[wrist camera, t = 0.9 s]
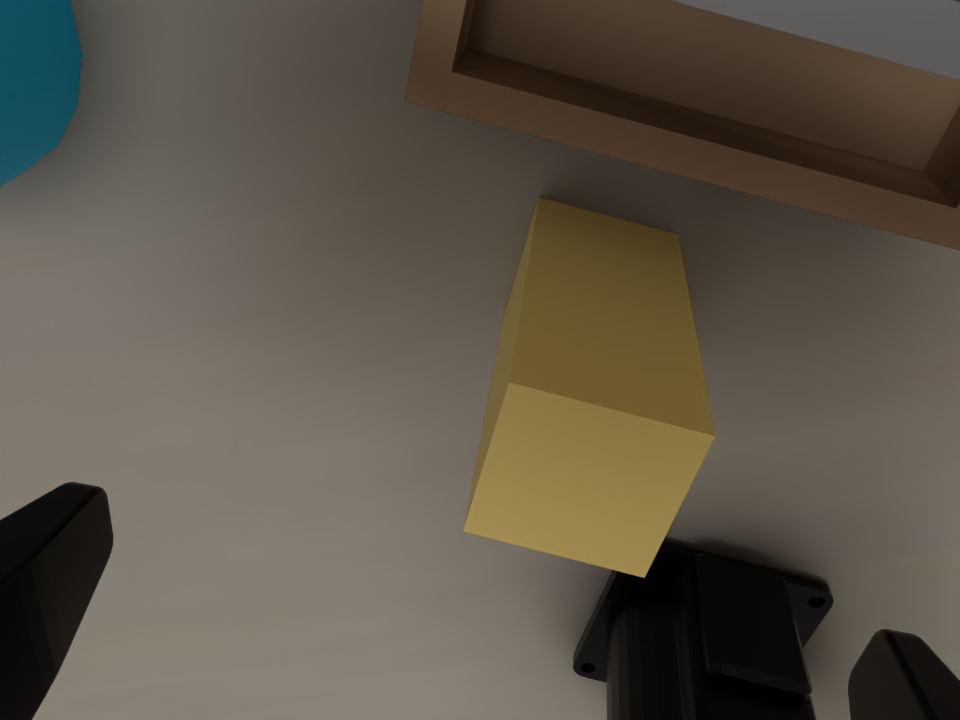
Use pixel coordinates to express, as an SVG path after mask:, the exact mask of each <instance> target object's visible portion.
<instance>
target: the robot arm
mask: <svg viewBox="0 0 960 720" xmlns="http://www.w3.org/2000/svg"><path fill="white" fill-rule="evenodd" d="M112 547H113V530H112V524H111V517H110V511H109V504H108V498H107V494H106V492H105V491H104V489H103V488H100V487H98V486H93V485H87V484H82V483H76V482H68V483H65V484H63V485H61V486H59V487H57V488H55V489H53V490H52V491H50V492H48V493H47V494H45V495H43V496H41V497H40V498H38V499H36V500H34V501H33V502H31V503H29V504H27V505H26V506H24V507H22V508H20V509H19V510H17V511H15V512H13V513H12V514H10V515H8V516H6V517H5V518H3V519H1V520H0V720H32V719H33V717H34V715H35V713H36V712H37V710H38V708H39V707H40V705H41V703H42V701H43V700H44V698H45V696H46V694H47V693H48V691H49V689H50V687H51V685H52V683H53V682H54V680H55V678H56V676H57V674H58V672H59V670H60V668H61V666H62V663H63V661H64V659H65V657H66V655H67V653H68V650H69V648H70V646H71V644H72V641H73V639H74V637H75V634H76V632H77V630H78V628H79V625H80V623H81V621H82V619H83V616H84V614H85V612H86V610H87V607H88V605H89V603H90V600H91V598H92V596H93V594H94V591H95V589H96V587H97V585H98V582H99V580H100V578H101V575H102V573H103V571H104V569H105V566H106V564H107V562H108V560H109V557H110V554H111V551H112ZM815 596H817V597H816V598H812V597H815ZM832 605H833V597H832V594H831V591H830V587H829V586H828V585H827V584H825V583H823V582H821V581H817V580H813V579H809V578H805V577H801V576H797V575H794V574H790V573H786V572H782V571H778V570H774V569H770V568H766V567H762V566H758V565H755V564H751V563H747V562H743V561H739V560H735V559H731V558H727V557H723V556H720V555H716V554H712V553H708V552H704V551H700V550H696V549H692V548H688V547H685V546H681V545H677V544H673V543H669V542H665V541H663V542H662V544H661V546H660V548H659V550H658V552H657V554H656V556H655V558H654V560H653V562H652V564H651V566H650V568H649V570H648V572H647V574H646V576H645V578H643V577H639V576H635V575H631V574H627V573H623V572H619V571H616V570H613V572H612V574H611V576H610V579H609V581H608V583H607V585H606V587H605V589H604V591H603V594H602V596H601V598H600V600H599V602H598V604H597V606H596V609H595V611H594V613H593V615H592V617H591V619H590V621H589V624H588V626H587V628H586V630H585V632H584V634H583V636H582V638H581V641H580V643H579V645H578V647H577V649H576V651H575V653H574V658H573V669H574V671H575V672H576V673H577V674H578V675H580V676H583V677H587V678H590V679H594V680H598V681H602V682H606V683H607V720H816V716H815V712H814V708H813V704H812V700H811V696H810V693H811V692H812V686H811V682H810V678H809V674H808V669H807V665H806V661H805V657H804V653H803V649H802V648H803V647H804V645H805V644H806V642H807V641H808V640H809V638H810V637H811V635H812V634H813V632H814V631H815V630H816V628H817V627H818V625H819V624H820V623H821V621H822V620H823V618H824V617H825V615H826V614H827V613H828V611H829V610H830V608H831V607H832ZM848 695H849V705H850V715H851V720H960V680H959V679H958V678H957V677H956V676H955V675H954V674H953V672H952V671H951V670H950V669H949V668H948V667H947V666H946V665H945V664H944V663H943V662H942V660H941V659H940V658H939V657H938V656H937V655H936V654H935V653H934V652H933V651H932V650H931V648H930V647H929V646H928V645H927V644H926V643H925V642H924V641H923V640H922V639H921V638H919V637H918V636H916V635H914V634H910V633H905V632H899V631H893V630H888V629H881V630H879V631H878V632H876V633H875V634H874V635H873V637H872V638H871V640H870V642H869V643H868V645H867V647H866V648H865V650H864V652H863V653H862V655H861V656H860V658H859V660H858V661H857V663H856V665H855V666H854V668H853V670H852V672H851V674H850V678H849V683H848Z"/></svg>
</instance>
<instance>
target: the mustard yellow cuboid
mask: <svg viewBox="0 0 960 720" xmlns="http://www.w3.org/2000/svg"><path fill="white" fill-rule="evenodd" d="M714 438H715V431H714V426H713V420H712V415H711V409H710V404H709V399H708V393H707V388H706V382H705V377H704V372H703V366H702V361H701V356H700V350H699V345H698V339H697V334H696V329H695V323H694V318H693V313H692V307H691V302H690V296H689V291H688V286H687V280H686V275H685V269H684V264H683V259H682V253H681V248H680V243H679V237H678V234H675V233H671V232H668V231H664V230H660V229H657V228H653V227H649V226H645V225H642V224H638V223H634V222H630V221H627V220H623V219H619V218H615V217H612V216H608V215H604V214H601V213H597V212H593V211H589V210H586V209H582V208H578V207H574V206H571V205H567V204H563V203H559V202H556V201H552V200H548V199H544V198H541V197H539V198H538V201H537V204H536V208H535V211H534V215H533V218H532V222H531V225H530V229H529V232H528V236H527V239H526V242H525V246H524V249H523V253H522V256H521V260H520V263H519V267H518V270H517V273H516V277H515V280H514V284H513V287H512V291H511V294H510V298H509V301H508V305H507V308H506V311H505V315H504V319H503V324H502V329H501V334H500V340H499V345H498V350H497V355H496V361H495V366H494V371H493V376H492V382H491V387H490V392H489V397H488V403H487V408H486V413H485V418H484V424H483V429H482V434H481V439H480V445H479V450H478V455H477V460H476V466H475V471H474V476H473V481H472V486H471V492H470V497H469V502H468V507H467V513H466V518H465V523H464V528H463V532H467V533H471V534H475V535H479V536H483V537H487V538H491V539H495V540H498V541H502V542H506V543H510V544H514V545H518V546H522V547H526V548H530V549H534V550H537V551H541V552H545V553H549V554H553V555H557V556H561V557H565V558H569V559H573V560H577V561H580V562H584V563H588V564H592V565H596V566H600V567H604V568H608V569H612V570H616V571H619V572H623V573H627V574H631V575H635V576H639V577H643V578H645V576H646V574H647V572H648V570H649V568H650V566H651V564H652V562H653V560H654V558H655V556H656V554H657V552H658V550H659V548H660V546H661V544H662V542H663V540H664V538H665V536H666V534H667V532H668V530H669V528H670V526H671V524H672V522H673V520H674V518H675V516H676V514H677V512H678V510H679V508H680V506H681V504H682V502H683V500H684V498H685V496H686V494H687V492H688V490H689V488H690V486H691V484H692V482H693V480H694V478H695V476H696V474H697V472H698V470H699V468H700V466H701V464H702V462H703V460H704V458H705V456H706V454H707V452H708V450H709V448H710V446H711V444H712V442H713V440H714Z"/></svg>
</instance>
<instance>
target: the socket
mask: <svg viewBox="0 0 960 720" xmlns="http://www.w3.org/2000/svg"><path fill="white" fill-rule="evenodd" d="M671 1H675V2H678V3H682V4H686V5H689V6H693V7H696V8H700V9H704V10H707V11H711V12H715V13H718V14H722V15H726V16H729V17H733V18H736V19H740V20H744V21H747V22H751V23H755V24H758V25H762V26H766V27H769V28H773V29H776V30H780V31H784V32H787V33H791V34H795V35H798V36H802V37H806V38H809V39H813V40H816V41H820V42H824V43H827V44H831V45H835V46H838V47H842V48H845V49H849V50H853V51H856V52H860V53H864V54H867V55H871V56H875V57H878V58H882V59H885V60H889V61H893V62H896V63H900V64H904V65H907V66H911V67H915V68H918V69H922V70H925V71H929V72H933V73H936V74H940V75H944V76H947V77H951V78H955V79H958V80H960V0H671Z"/></svg>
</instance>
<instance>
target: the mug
mask: <svg viewBox="0 0 960 720" xmlns="http://www.w3.org/2000/svg"><path fill="white" fill-rule="evenodd" d="M80 65H81V49H80V44H79V40H78V35H77V31H76V26H75V22H74V17H73V12H72V8H71V3H70V0H0V186H1V185H3V184H5V183H6V182H8V181H9V180H11V179H13V178H14V177H16V176H17V175H19V174H21V173H22V172H24V171H25V170H27V169H28V168H29V167H31V166H32V165H33V164H34V163H35V162H37V161H38V160H39V159H40V158H41V157H43V156H44V155H45V154H46V153H48V152H49V151H50V150H51V149H52V148H54V147H55V146H56V145H57V144H58V143H59V141H60V139H61V137H62V135H63V133H64V131H65V128H66V126H67V124H68V122H69V120H70V118H71V116H72V114H73V112H74V110H75V108H76V106H77V101H78V89H79V77H80Z"/></svg>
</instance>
